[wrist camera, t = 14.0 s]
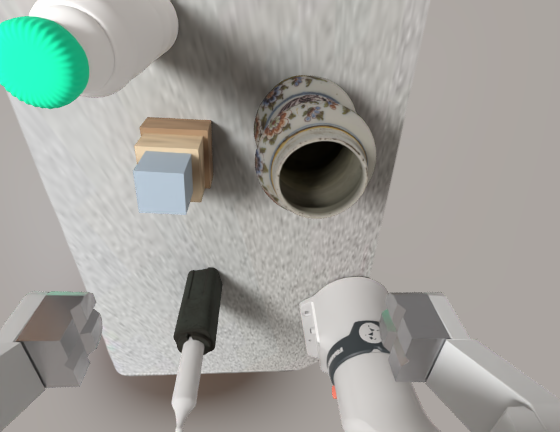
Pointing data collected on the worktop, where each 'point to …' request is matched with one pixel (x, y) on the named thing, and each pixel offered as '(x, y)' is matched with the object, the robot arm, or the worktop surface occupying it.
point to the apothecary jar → (312, 148)
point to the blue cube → (164, 182)
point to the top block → (178, 145)
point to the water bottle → (82, 47)
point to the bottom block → (185, 128)
